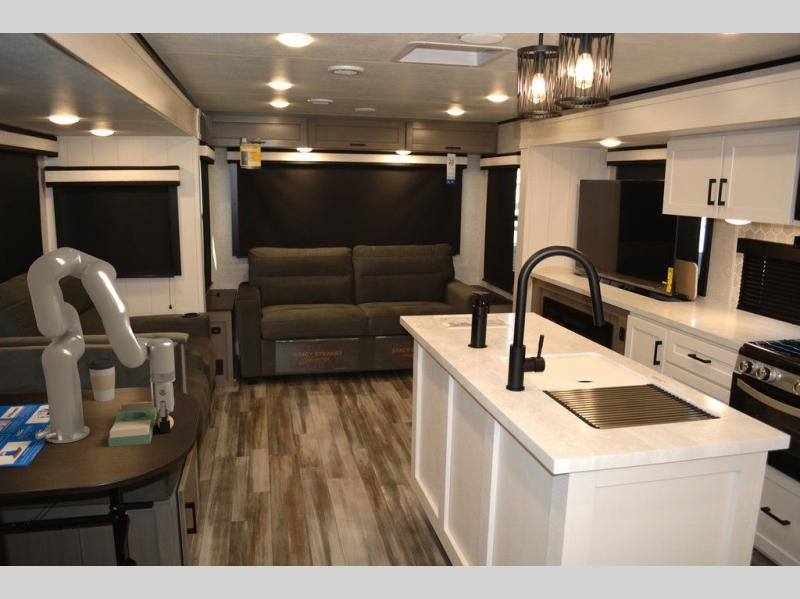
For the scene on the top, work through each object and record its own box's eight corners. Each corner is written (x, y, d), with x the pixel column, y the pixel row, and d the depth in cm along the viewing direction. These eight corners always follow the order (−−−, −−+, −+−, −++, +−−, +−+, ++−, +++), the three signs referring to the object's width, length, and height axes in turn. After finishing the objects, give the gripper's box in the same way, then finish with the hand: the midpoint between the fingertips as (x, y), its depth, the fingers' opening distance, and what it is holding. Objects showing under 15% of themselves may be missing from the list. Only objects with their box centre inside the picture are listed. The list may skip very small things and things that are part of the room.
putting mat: (150, 443, 202) (147, 401, 199) (108, 447, 199) (105, 404, 196) (157, 414, 225) (154, 376, 223) (120, 416, 222) (117, 378, 219)
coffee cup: (112, 392, 246) (109, 354, 243) (121, 398, 240) (118, 360, 237) (87, 397, 240) (84, 359, 237) (96, 404, 233) (93, 364, 230)
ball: (165, 434, 209) (164, 419, 208) (154, 430, 211) (153, 416, 210) (177, 428, 213) (176, 414, 212) (166, 425, 216) (165, 411, 215)
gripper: (173, 383, 202) (176, 437, 205) (176, 367, 218) (179, 418, 221) (148, 385, 200) (151, 440, 203) (153, 369, 216) (156, 419, 219)
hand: (165, 428), depth 212 cm, fingers closed on ball, 4 cm apart
